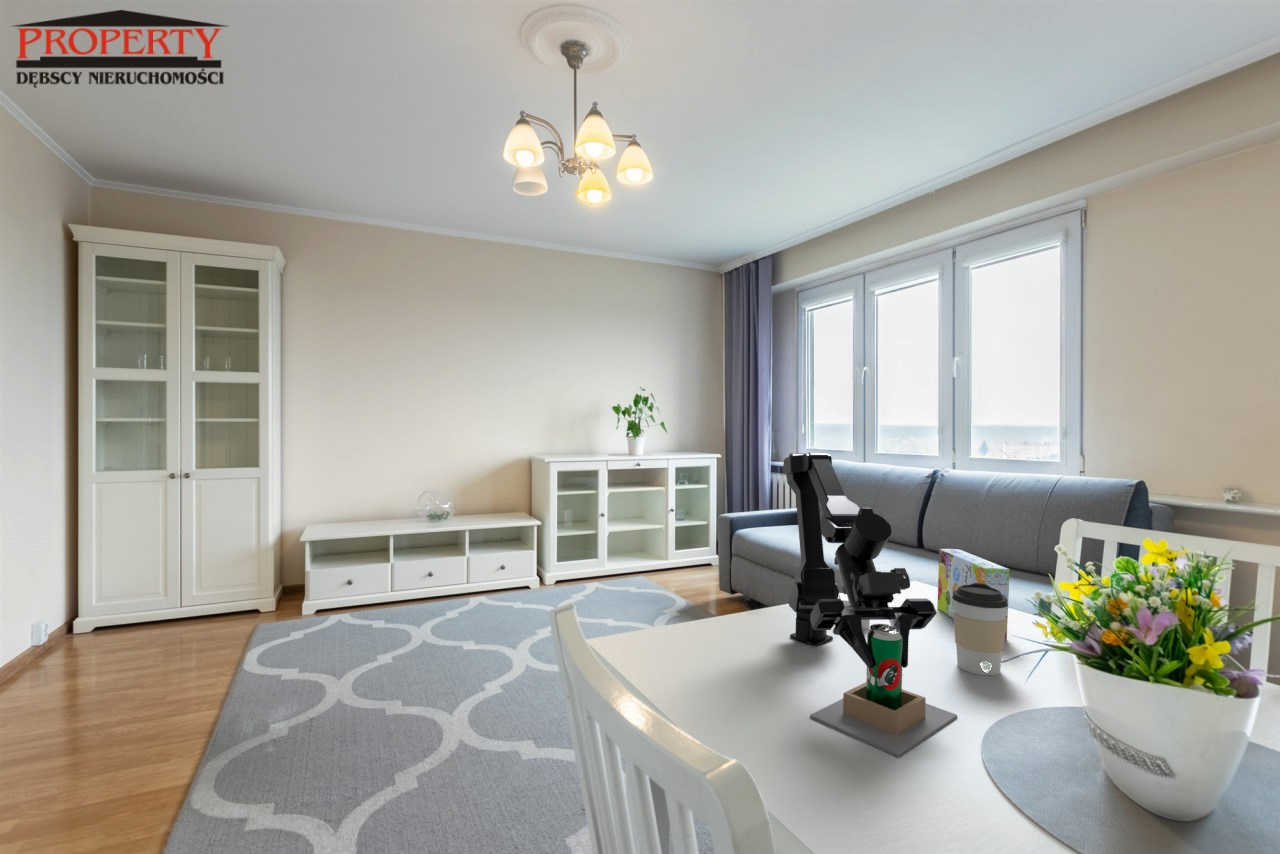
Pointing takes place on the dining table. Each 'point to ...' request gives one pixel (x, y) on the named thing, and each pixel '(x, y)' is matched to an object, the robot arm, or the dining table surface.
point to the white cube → (846, 603)
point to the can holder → (884, 720)
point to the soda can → (885, 666)
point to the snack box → (967, 577)
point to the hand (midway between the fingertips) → (888, 666)
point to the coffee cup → (979, 627)
